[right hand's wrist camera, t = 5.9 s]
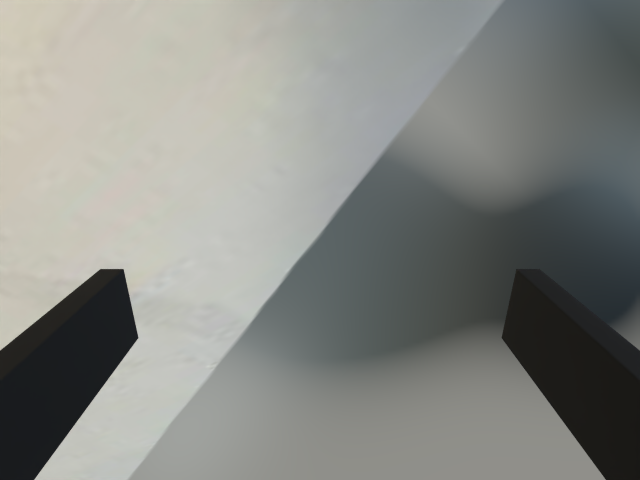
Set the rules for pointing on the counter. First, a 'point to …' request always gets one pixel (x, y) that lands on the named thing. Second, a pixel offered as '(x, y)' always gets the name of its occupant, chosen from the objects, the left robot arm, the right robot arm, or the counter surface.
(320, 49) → the counter surface
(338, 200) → the counter surface
